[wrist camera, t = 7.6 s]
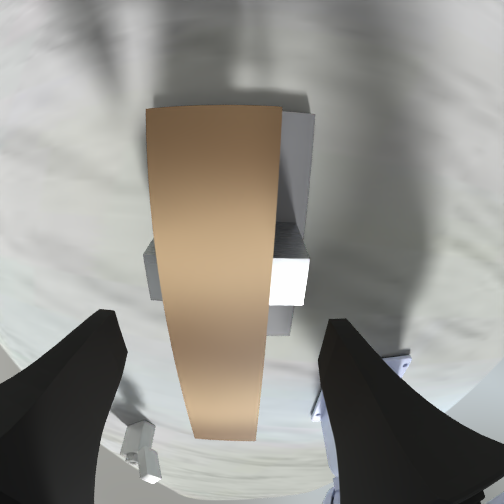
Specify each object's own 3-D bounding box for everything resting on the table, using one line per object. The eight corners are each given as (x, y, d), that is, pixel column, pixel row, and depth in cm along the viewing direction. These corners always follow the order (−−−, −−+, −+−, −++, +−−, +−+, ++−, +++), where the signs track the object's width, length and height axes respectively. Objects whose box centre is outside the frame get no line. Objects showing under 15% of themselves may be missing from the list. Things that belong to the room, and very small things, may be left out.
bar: (254, 381, 16) (255, 441, 12) (202, 379, 16) (195, 438, 12) (269, 108, 9) (282, 107, 6) (183, 108, 9) (145, 108, 6)
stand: (288, 326, 20) (296, 381, 16) (175, 322, 20) (160, 376, 16) (310, 113, 14) (338, 116, 9) (158, 111, 14) (119, 115, 9)
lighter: (137, 432, 29) (125, 485, 22) (126, 426, 28) (113, 480, 21) (171, 421, 27) (161, 484, 20) (159, 414, 26) (146, 478, 19)
